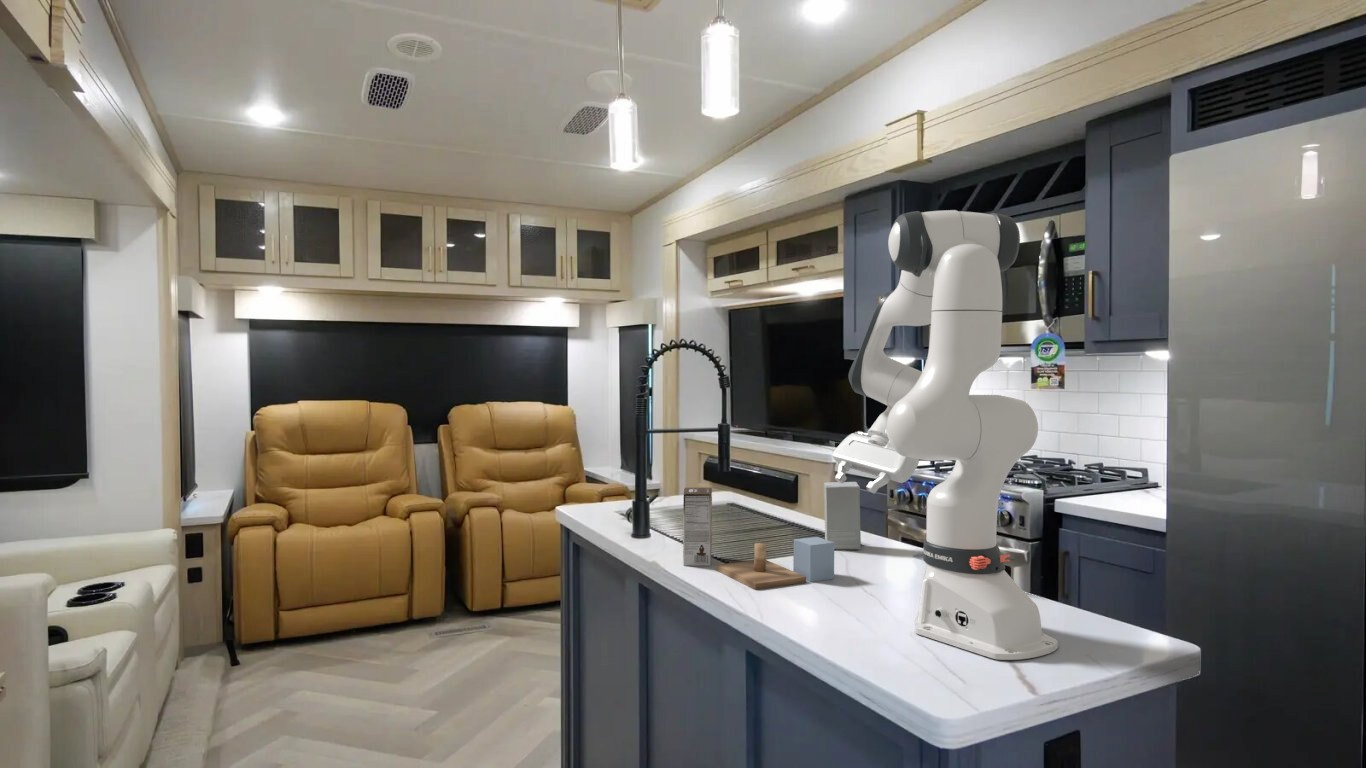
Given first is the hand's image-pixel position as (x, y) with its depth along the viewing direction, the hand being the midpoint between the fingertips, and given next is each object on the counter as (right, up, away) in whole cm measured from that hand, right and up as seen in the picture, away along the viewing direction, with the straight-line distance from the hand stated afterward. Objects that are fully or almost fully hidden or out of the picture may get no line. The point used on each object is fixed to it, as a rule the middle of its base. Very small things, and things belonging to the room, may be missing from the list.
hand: (853, 486), depth 163 cm
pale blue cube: (-10, -18, -5) cm, 21 cm away
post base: (-21, -18, -5) cm, 28 cm away
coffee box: (-34, -18, +8) cm, 39 cm away
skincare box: (+2, -18, +22) cm, 28 cm away
